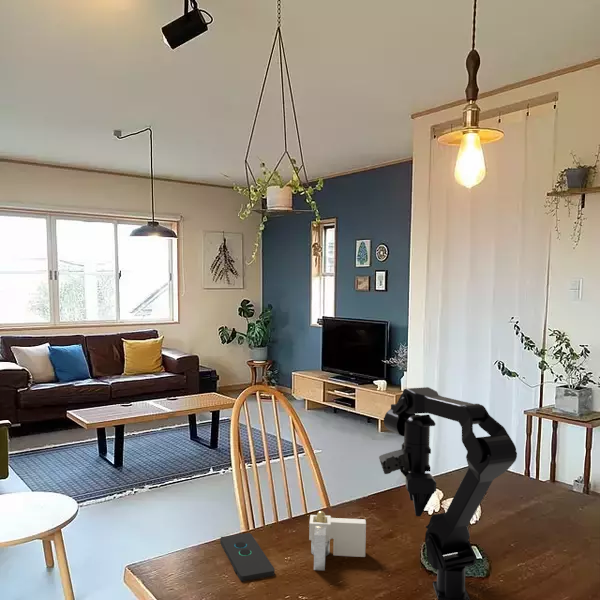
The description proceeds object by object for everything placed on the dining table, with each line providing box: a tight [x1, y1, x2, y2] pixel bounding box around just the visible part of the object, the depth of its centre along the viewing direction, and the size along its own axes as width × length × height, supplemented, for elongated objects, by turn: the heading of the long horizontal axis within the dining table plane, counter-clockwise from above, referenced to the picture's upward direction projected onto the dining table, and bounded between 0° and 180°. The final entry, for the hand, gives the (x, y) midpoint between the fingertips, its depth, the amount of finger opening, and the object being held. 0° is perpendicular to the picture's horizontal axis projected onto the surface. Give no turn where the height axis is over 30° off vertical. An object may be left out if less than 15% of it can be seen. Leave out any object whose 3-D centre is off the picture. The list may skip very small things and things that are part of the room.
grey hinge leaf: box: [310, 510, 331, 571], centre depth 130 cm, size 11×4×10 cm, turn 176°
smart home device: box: [219, 532, 276, 582], centre depth 130 cm, size 8×2×20 cm
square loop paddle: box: [308, 514, 367, 558], centre depth 133 cm, size 5×13×8 cm, turn 86°
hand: (415, 507), depth 128 cm, fingers open, 9 cm apart
